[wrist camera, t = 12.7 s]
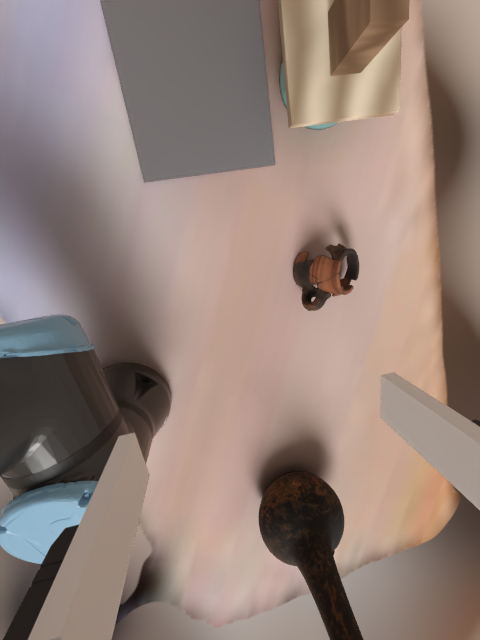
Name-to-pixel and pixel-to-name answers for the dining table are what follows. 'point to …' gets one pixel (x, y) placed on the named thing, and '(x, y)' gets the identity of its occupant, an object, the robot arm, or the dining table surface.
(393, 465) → the dining table surface
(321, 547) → the glass bottle
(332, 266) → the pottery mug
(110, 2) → the mat
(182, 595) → the dining table surface
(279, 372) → the dining table surface
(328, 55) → the lid
